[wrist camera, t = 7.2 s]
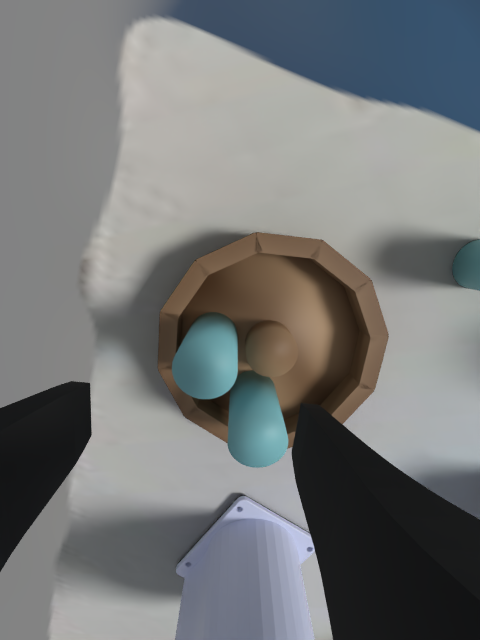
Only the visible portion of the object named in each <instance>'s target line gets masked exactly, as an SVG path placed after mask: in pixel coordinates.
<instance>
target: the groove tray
mask: <svg viewBox="0 0 480 640" xmlns="http://www.w3.org/2000/svg"><path fill="white" fill-rule="evenodd" d="M209 312H217V313H221V314H224V315H226V316H227V317H229V318H230V319H231V320H232V321H233V323H234V324H235V326H236V329H237V335H238V373H237V376H238V375H239V374H241V373H243V372H246V371H251V370H254V371H255V372H256V373H258V374H260V375H262V376H265V377H270V378H271V379H272V381H273V383H274V385H275V389H276V393H277V397H278V400H279V404H280V408H281V412H282V416H283V420H284V423H285V427H286V431H287V435H288V447H287V449H288V448H291V447H293V442H294V437H295V432H296V426H297V421H298V416H299V410H300V405H301V403H307V404H317V405H320V406H321V407H322V408H324V409H325V410H326V411H327V412H328V413H330V414H331V415H332V416H333V417H334V418H335V419H337V420H338V421H339V422H340V423H341V424H343V423H344V422H345V421H346V420H347V419H348V418H349V417H350V416H351V415H352V414H353V413H354V411H355V410H356V409H357V408H358V407H359V406H360V405H361V404H362V403H363V402H364V401H365V400H366V399H367V398H368V397H369V396H370V395H371V394H372V393H373V391H374V390H375V387H376V383H377V379H378V376H379V372H380V368H381V364H382V360H383V356H384V353H385V349H386V345H387V341H388V337H389V336H387V335H389V334H388V331H387V328H386V325H385V321H384V318H383V315H382V312H381V309H380V306H379V302H378V299H377V296H376V293H375V290H374V286H373V283H372V280H370V278H369V277H368V276H366V275H365V274H364V273H363V272H361V271H360V270H359V269H358V268H356V267H355V266H354V265H353V264H352V263H350V262H349V261H348V260H347V259H345V258H344V257H343V256H342V255H340V254H339V253H338V252H337V251H336V250H334V249H333V248H332V247H331V246H329V245H328V244H327V243H326V242H324V241H323V240H319V239H311V238H302V237H293V236H285V235H276V234H268V233H259V232H256V233H253V234H251V235H249V236H246V237H244V238H242V239H240V240H238V241H235V242H233V243H231V244H229V245H227V246H225V247H222V248H220V249H218V250H216V251H214V252H211V253H209V254H207V255H205V256H203V257H200V258H198V259H196V260H195V261H194V262H193V264H192V265H191V267H190V268H189V270H188V271H187V273H186V274H185V276H184V277H183V278H182V280H181V281H180V283H179V284H178V286H177V287H176V289H175V290H174V292H173V293H172V295H171V296H170V298H169V299H168V300H167V302H166V303H165V305H164V306H163V308H162V309H161V312H160V321H159V348H158V371H159V373H160V374H161V376H162V378H163V380H164V381H165V383H166V385H167V387H168V389H169V390H170V392H171V394H172V396H173V397H174V399H175V401H176V403H177V405H178V406H179V408H180V410H181V412H182V413H183V415H184V416H185V418H187V419H189V420H190V421H192V422H194V423H195V424H197V425H199V426H200V427H202V428H203V429H205V430H207V431H208V432H210V433H212V434H213V435H215V436H216V437H218V438H220V439H221V440H223V441H225V442H226V443H228V423H229V402H230V390H229V391H227V392H226V393H225V394H223V395H222V396H219V397H217V398H213V399H198V398H195V397H192V396H190V395H188V394H186V393H185V392H183V391H182V390H181V389H180V388H179V387H178V385H177V384H176V382H175V380H174V378H173V374H172V362H173V359H174V357H175V354H176V353H177V351H178V349H179V347H180V345H181V344H182V342H183V340H184V338H185V336H186V334H187V333H188V331H189V329H190V327H191V325H192V323H193V322H194V321H195V319H196V318H198V317H199V316H200V315H202V314H205V313H209ZM373 389H374V390H373Z"/></svg>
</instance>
